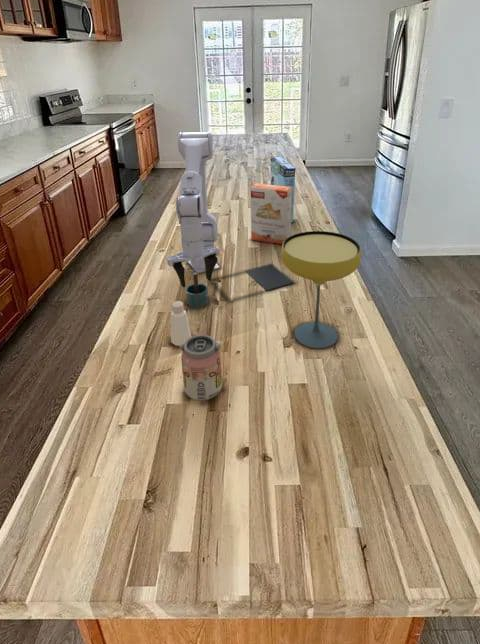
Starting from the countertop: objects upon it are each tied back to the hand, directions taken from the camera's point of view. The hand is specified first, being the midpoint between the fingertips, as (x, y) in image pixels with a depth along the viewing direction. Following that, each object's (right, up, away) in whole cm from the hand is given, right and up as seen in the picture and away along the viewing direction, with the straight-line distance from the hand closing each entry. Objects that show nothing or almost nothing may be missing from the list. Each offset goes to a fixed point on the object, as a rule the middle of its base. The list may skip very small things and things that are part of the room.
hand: (195, 282), depth 123 cm
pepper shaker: (-2, -14, -13) cm, 19 cm away
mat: (+16, -1, +13) cm, 20 cm away
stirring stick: (0, -6, +3) cm, 6 cm away
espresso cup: (0, -6, +3) cm, 7 cm away
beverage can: (+5, -21, -28) cm, 35 cm away
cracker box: (+24, +13, +41) cm, 49 cm away
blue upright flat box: (+30, +24, +65) cm, 75 cm away
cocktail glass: (+32, -13, -12) cm, 36 cm away
